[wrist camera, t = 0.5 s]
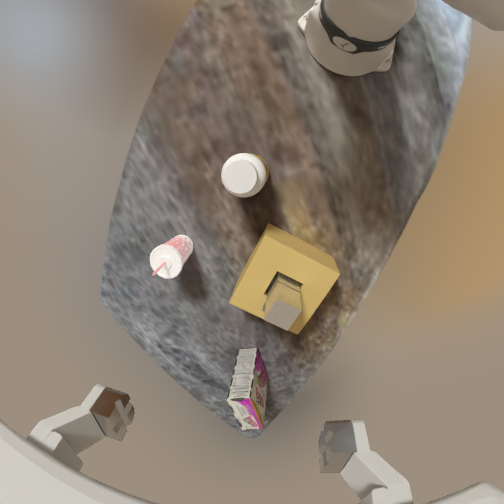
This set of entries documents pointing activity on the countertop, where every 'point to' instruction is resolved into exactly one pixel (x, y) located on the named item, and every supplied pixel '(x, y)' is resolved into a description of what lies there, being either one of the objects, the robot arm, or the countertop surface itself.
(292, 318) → the column
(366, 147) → the countertop surface
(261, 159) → the supplement bottle
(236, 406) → the candy bar box
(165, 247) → the beverage cup
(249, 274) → the housing
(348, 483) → the robot arm
